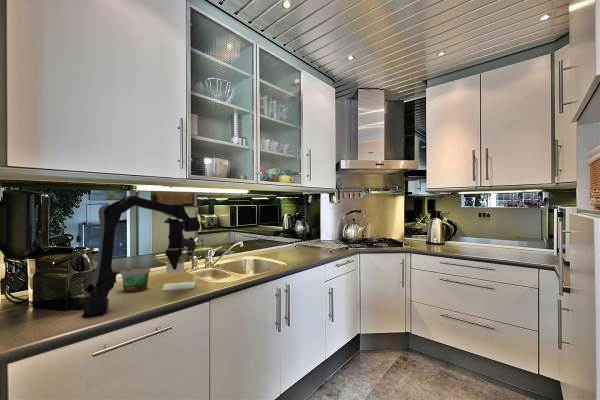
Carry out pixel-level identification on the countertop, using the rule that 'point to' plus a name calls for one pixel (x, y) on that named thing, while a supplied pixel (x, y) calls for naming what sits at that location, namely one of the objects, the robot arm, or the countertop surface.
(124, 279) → the food container
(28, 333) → the countertop surface
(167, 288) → the sage mat
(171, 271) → the card deck
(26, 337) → the countertop surface
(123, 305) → the countertop surface
